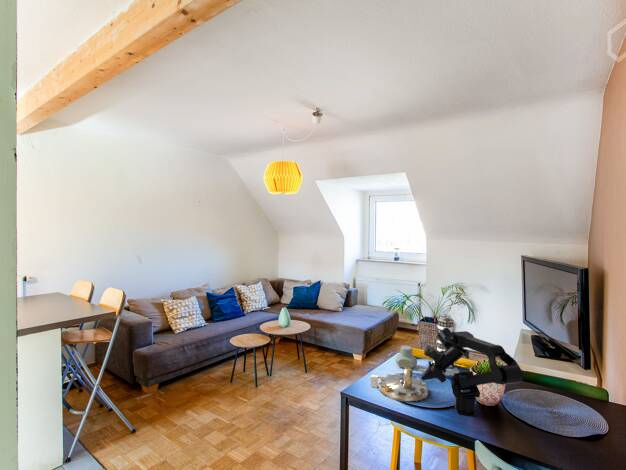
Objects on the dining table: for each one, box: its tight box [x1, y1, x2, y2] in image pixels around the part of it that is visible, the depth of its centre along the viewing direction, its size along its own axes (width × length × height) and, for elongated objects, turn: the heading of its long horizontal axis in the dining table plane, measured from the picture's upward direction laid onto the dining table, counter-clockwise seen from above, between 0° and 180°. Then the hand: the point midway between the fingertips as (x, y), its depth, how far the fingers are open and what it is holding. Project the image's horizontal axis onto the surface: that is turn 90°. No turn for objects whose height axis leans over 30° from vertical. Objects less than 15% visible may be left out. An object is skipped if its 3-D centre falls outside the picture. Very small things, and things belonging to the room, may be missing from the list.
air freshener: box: [394, 345, 418, 369], centre depth 179 cm, size 11×8×10 cm
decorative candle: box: [435, 315, 455, 368], centre depth 183 cm, size 9×9×25 cm
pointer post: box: [370, 374, 383, 389], centre depth 155 cm, size 5×2×5 cm, turn 74°
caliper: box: [416, 366, 460, 377], centre depth 168 cm, size 20×1×6 cm, turn 56°
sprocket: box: [379, 368, 427, 397], centre depth 152 cm, size 19×19×10 cm
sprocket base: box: [378, 381, 429, 402], centre depth 152 cm, size 21×21×2 cm
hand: (421, 379), depth 145 cm, fingers closed
